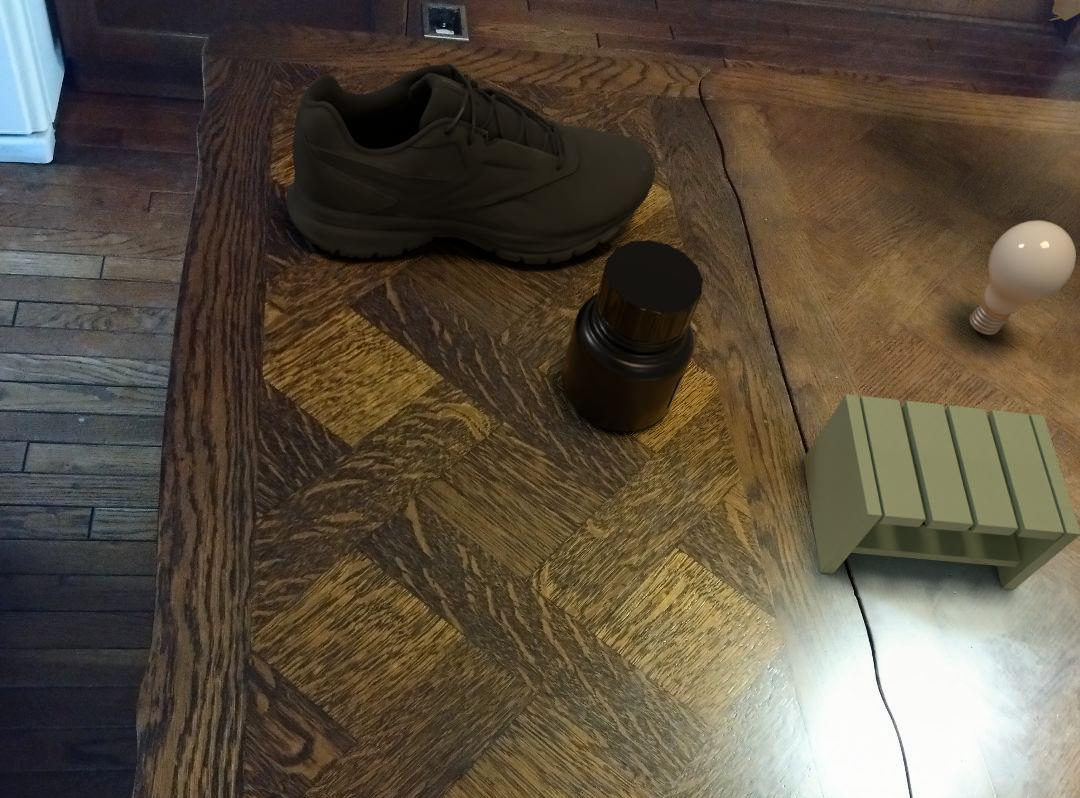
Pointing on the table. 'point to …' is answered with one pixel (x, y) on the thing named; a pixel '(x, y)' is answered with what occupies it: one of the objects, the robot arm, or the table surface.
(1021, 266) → the lightbulb
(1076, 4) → the white animal figurine
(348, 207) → the running shoe
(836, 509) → the stool
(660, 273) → the ink bottle
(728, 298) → the table surface
